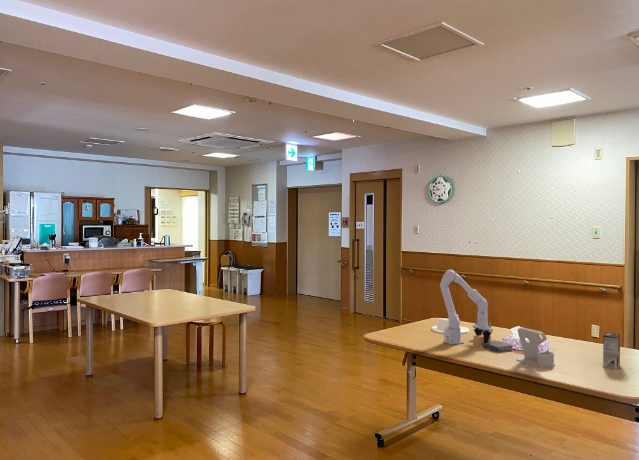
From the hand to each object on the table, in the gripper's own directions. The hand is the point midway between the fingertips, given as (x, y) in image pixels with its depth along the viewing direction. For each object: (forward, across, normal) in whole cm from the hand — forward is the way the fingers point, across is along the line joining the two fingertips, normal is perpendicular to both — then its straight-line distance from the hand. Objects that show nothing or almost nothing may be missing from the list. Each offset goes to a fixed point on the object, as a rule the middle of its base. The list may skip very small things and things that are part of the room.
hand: (482, 341), depth 299 cm
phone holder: (+2, -42, +3) cm, 42 cm away
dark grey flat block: (+1, -12, 0) cm, 12 cm away
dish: (+2, +39, -8) cm, 40 cm away
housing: (+1, 0, 0) cm, 1 cm away
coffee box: (+2, -63, -26) cm, 68 cm away
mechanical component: (+2, +11, -11) cm, 16 cm away
